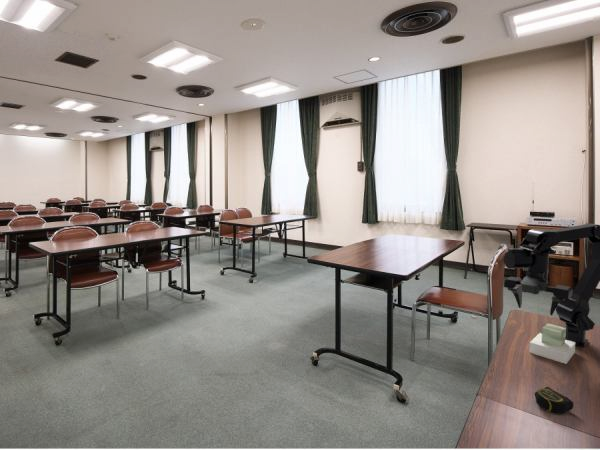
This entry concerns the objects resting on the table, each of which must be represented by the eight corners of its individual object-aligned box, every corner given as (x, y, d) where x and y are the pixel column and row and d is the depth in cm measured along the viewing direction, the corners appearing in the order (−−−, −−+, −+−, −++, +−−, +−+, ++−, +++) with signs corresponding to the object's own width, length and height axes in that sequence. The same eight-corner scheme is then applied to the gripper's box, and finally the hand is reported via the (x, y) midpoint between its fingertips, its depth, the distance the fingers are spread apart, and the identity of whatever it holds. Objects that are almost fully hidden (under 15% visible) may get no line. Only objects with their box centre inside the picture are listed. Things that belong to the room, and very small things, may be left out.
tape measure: (574, 413, 86) (575, 399, 85) (554, 420, 84) (555, 406, 83) (547, 397, 92) (548, 384, 92) (528, 403, 90) (529, 389, 90)
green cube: (547, 337, 117) (547, 323, 116) (564, 342, 113) (566, 328, 113) (541, 342, 114) (542, 327, 113) (559, 347, 110) (560, 332, 110)
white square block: (538, 343, 121) (539, 332, 121) (574, 353, 114) (575, 342, 113) (529, 353, 115) (529, 342, 114) (566, 365, 107) (567, 353, 107)
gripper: (498, 266, 118) (496, 310, 120) (565, 277, 104) (561, 326, 106) (510, 260, 125) (508, 302, 127) (574, 270, 111) (571, 316, 113)
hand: (535, 311), depth 118 cm, fingers open, 9 cm apart
